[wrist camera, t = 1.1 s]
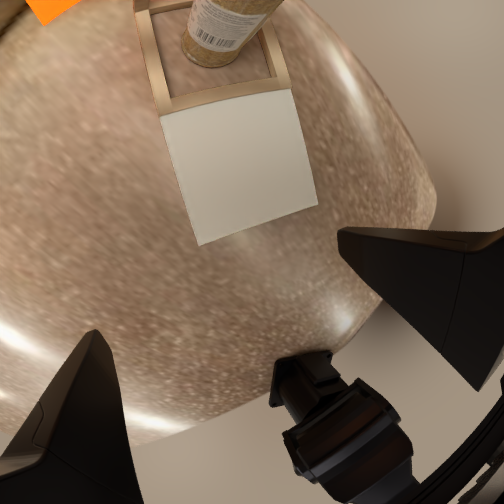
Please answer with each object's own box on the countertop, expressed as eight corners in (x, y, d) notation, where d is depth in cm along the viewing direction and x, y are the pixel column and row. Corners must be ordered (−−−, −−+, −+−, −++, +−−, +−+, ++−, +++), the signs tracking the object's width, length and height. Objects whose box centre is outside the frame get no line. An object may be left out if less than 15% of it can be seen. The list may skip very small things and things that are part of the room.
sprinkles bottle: (250, 42, 18) (354, -53, 6) (215, 80, 18) (304, -21, 6) (205, 12, 16) (269, -106, 4) (166, 48, 16) (197, -80, 4)
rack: (286, 90, 20) (328, 70, 14) (159, 118, 18) (161, 97, 12) (254, -8, 16) (283, -45, 11) (133, 9, 14) (131, -34, 9)
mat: (314, 203, 23) (318, 204, 23) (197, 244, 21) (198, 246, 21) (285, 85, 20) (288, 83, 19) (158, 113, 18) (158, 111, 17)
